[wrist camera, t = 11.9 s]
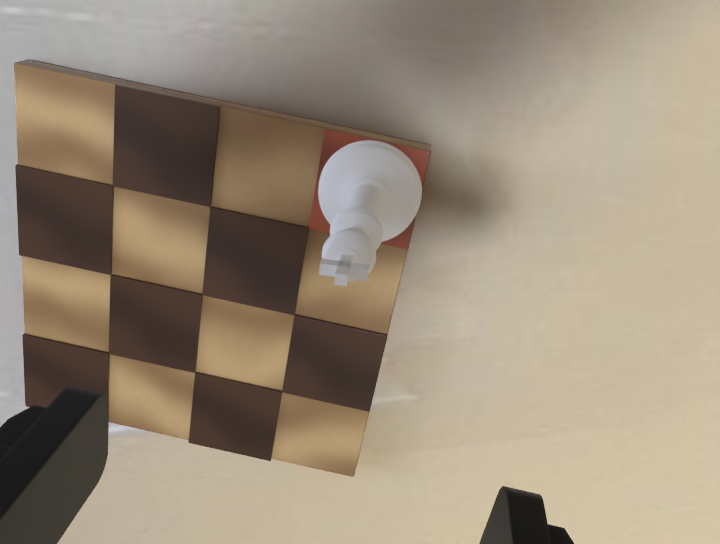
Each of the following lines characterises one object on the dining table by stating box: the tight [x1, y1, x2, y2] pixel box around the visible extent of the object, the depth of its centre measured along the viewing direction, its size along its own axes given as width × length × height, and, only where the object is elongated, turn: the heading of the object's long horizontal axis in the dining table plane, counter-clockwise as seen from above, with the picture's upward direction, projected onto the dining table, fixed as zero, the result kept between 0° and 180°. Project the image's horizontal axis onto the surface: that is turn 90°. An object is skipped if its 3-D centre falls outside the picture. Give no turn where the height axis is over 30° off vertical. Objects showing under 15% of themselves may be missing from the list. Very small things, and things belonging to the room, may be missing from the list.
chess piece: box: [318, 140, 422, 286], centre depth 27 cm, size 5×5×10 cm
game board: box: [14, 60, 431, 477], centre depth 35 cm, size 20×20×1 cm
